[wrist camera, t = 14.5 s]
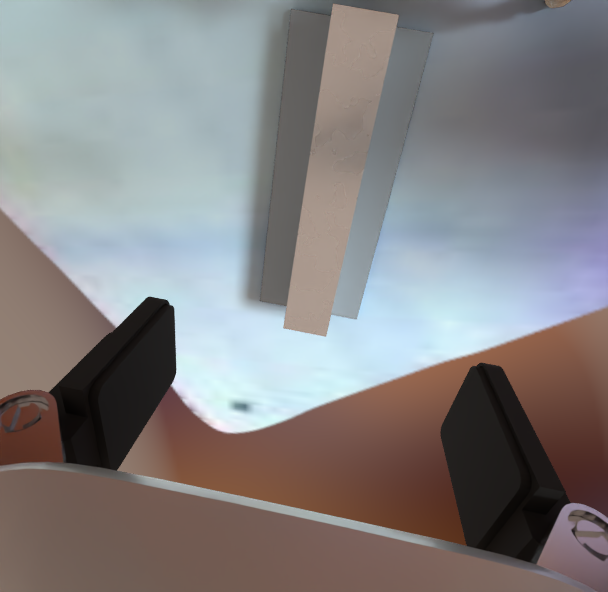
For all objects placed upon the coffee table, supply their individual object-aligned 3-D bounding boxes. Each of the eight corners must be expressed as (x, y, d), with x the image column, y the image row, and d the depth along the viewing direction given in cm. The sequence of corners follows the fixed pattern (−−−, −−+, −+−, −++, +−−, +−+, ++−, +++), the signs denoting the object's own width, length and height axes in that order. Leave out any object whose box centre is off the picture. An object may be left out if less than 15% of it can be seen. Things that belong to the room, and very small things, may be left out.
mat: (432, 34, 26) (433, 33, 25) (356, 316, 38) (356, 319, 37) (292, 10, 26) (290, 8, 26) (261, 298, 38) (259, 300, 38)
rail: (392, 24, 25) (399, 14, 22) (328, 313, 37) (325, 336, 34) (335, 14, 26) (332, 3, 22) (289, 306, 38) (283, 328, 34)
